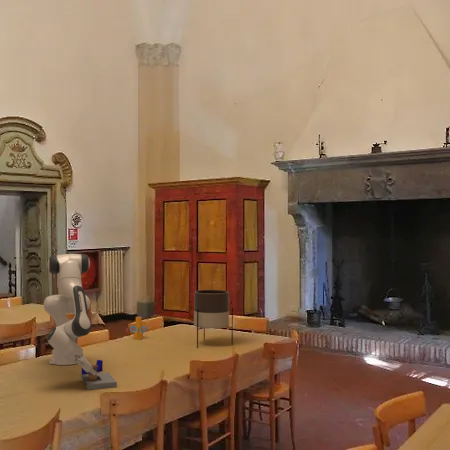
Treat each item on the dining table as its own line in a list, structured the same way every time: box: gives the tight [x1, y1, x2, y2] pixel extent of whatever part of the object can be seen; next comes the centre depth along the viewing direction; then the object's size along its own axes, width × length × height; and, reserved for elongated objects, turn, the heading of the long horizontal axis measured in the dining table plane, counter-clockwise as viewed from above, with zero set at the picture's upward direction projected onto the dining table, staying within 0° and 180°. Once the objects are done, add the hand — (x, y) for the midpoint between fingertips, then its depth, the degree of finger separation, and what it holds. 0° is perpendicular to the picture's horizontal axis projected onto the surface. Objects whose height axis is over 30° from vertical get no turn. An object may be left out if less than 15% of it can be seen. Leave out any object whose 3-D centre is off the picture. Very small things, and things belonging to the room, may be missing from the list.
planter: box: [193, 289, 234, 349], centre depth 393 cm, size 26×25×35 cm
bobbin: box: [87, 364, 98, 382], centre depth 296 cm, size 6×6×9 cm
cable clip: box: [80, 359, 104, 376], centre depth 317 cm, size 12×4×6 cm, turn 143°
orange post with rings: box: [129, 316, 148, 340], centre depth 412 cm, size 12×10×15 cm
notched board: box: [80, 371, 118, 391], centre depth 297 cm, size 20×14×2 cm
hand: (93, 372), depth 296 cm, fingers open, 8 cm apart
